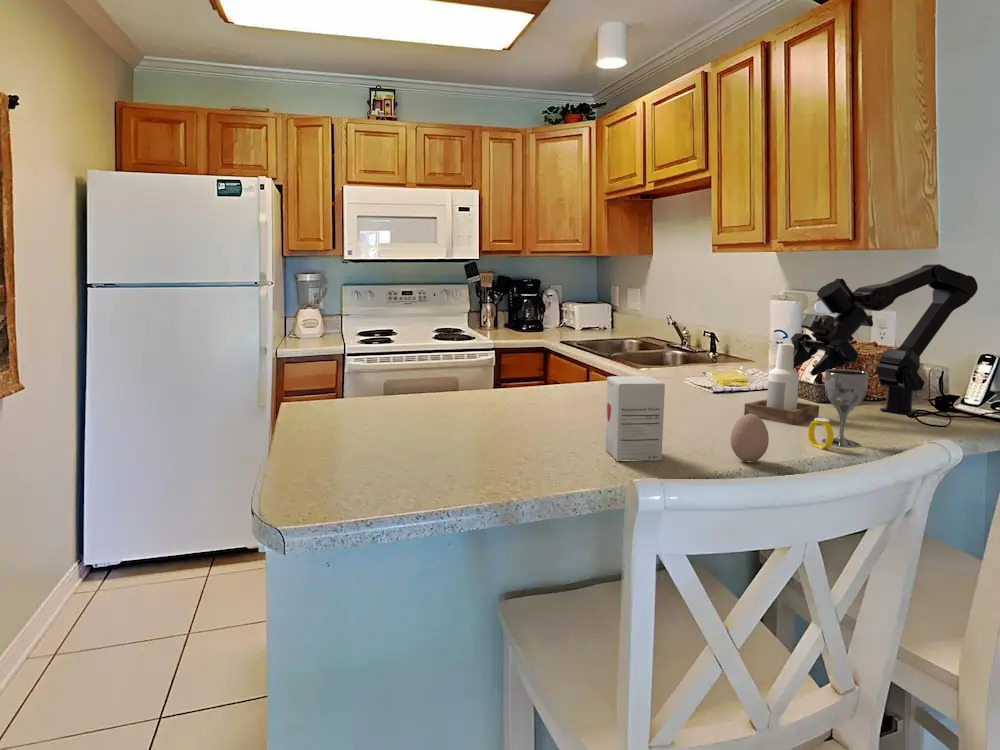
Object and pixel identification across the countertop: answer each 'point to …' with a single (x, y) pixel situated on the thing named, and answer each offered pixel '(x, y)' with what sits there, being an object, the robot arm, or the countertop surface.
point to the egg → (749, 438)
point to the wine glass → (845, 397)
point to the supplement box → (634, 417)
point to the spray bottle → (783, 380)
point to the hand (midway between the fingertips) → (799, 371)
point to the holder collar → (782, 412)
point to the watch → (828, 430)
